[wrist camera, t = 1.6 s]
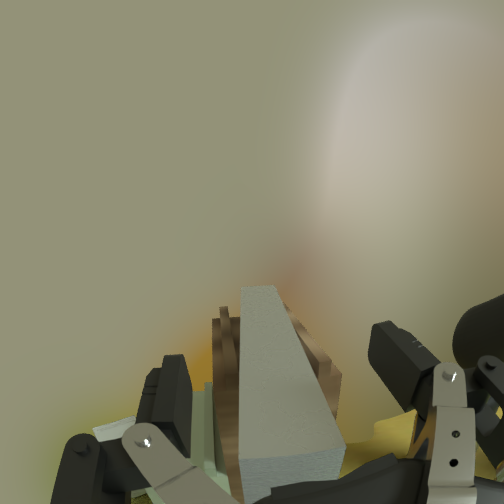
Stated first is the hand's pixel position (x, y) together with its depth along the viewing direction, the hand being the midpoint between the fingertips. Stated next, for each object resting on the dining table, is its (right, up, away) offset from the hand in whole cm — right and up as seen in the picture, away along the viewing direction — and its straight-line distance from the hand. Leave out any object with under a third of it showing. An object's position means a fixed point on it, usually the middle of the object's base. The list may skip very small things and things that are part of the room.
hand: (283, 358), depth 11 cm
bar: (0, -5, +11) cm, 12 cm away
